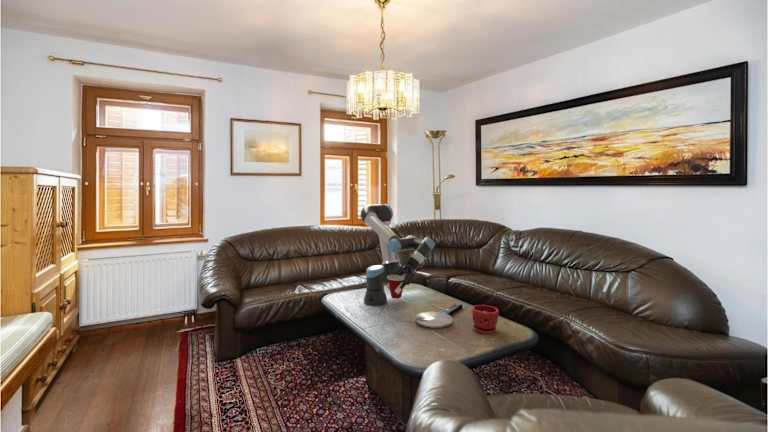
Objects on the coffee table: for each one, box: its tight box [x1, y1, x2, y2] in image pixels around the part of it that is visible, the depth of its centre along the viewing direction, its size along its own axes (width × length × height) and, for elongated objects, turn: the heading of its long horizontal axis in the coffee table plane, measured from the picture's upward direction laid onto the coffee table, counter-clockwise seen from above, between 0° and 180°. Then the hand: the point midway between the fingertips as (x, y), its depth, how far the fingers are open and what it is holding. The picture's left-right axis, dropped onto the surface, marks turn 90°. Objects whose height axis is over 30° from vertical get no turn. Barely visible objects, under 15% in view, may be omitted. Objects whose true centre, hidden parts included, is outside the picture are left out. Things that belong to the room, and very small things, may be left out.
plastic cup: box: [387, 275, 405, 300], centre depth 213 cm, size 11×11×12 cm
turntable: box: [415, 311, 453, 329], centre depth 205 cm, size 20×20×2 cm
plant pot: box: [471, 304, 500, 335], centre depth 192 cm, size 13×13×12 cm
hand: (391, 290), depth 212 cm, fingers closed on plastic cup, 10 cm apart
